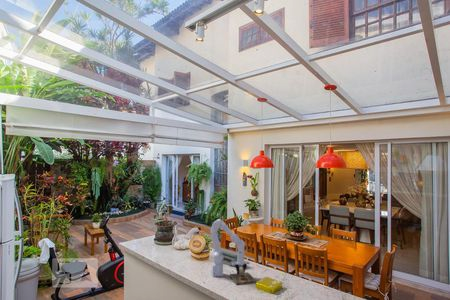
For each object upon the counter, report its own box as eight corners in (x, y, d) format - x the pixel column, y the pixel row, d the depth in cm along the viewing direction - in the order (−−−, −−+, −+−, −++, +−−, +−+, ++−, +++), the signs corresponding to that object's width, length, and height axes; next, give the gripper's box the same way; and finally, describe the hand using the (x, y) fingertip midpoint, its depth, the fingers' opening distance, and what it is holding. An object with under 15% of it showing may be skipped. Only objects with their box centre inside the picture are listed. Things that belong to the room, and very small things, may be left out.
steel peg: (239, 278, 214) (239, 269, 214) (237, 276, 217) (237, 267, 218) (243, 277, 215) (243, 268, 215) (242, 275, 219) (242, 267, 219)
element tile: (265, 282, 208) (265, 275, 209) (283, 287, 199) (283, 281, 199) (254, 288, 197) (255, 281, 197) (273, 295, 187) (273, 288, 188)
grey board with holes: (236, 284, 201) (236, 282, 202) (229, 276, 218) (229, 273, 218) (256, 282, 206) (256, 280, 206) (248, 274, 222) (248, 272, 222)
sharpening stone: (215, 261, 252) (215, 249, 253) (220, 259, 258) (221, 247, 258) (235, 268, 235) (235, 255, 236) (241, 265, 241) (241, 253, 242)
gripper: (233, 258, 211) (233, 276, 210) (251, 257, 215) (250, 275, 214) (231, 256, 218) (230, 273, 217) (247, 254, 222) (247, 271, 221)
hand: (240, 273), depth 216 cm, fingers closed on steel peg, 4 cm apart
